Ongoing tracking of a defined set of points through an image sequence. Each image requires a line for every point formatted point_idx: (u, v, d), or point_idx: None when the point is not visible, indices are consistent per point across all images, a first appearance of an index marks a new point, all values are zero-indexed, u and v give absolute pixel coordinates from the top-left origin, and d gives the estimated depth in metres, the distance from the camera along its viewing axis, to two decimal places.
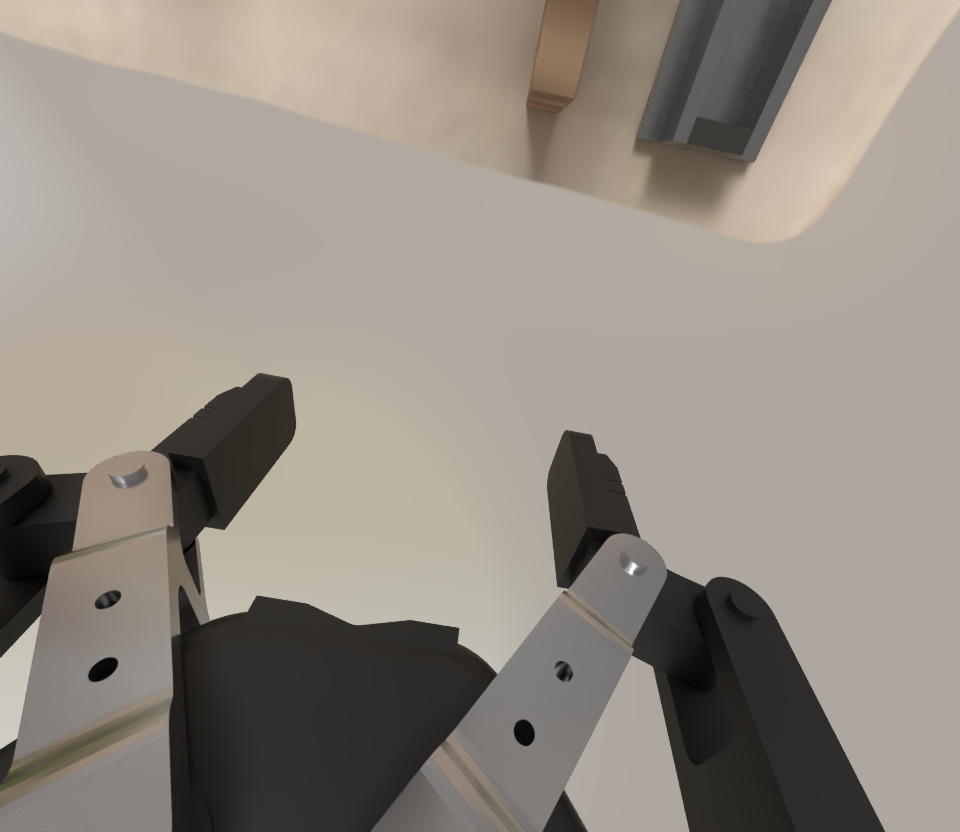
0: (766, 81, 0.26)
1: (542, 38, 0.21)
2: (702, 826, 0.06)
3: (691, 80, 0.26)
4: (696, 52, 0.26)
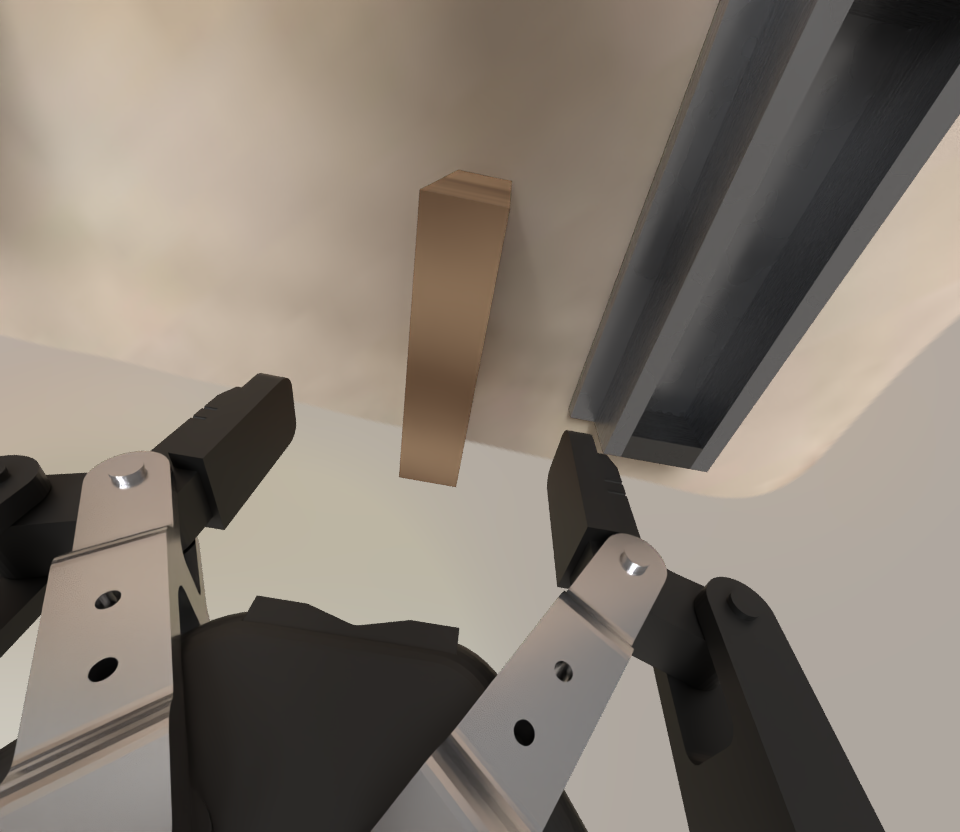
0: (718, 395, 0.21)
1: (404, 439, 0.16)
2: (702, 826, 0.06)
3: (623, 398, 0.20)
4: (629, 363, 0.20)
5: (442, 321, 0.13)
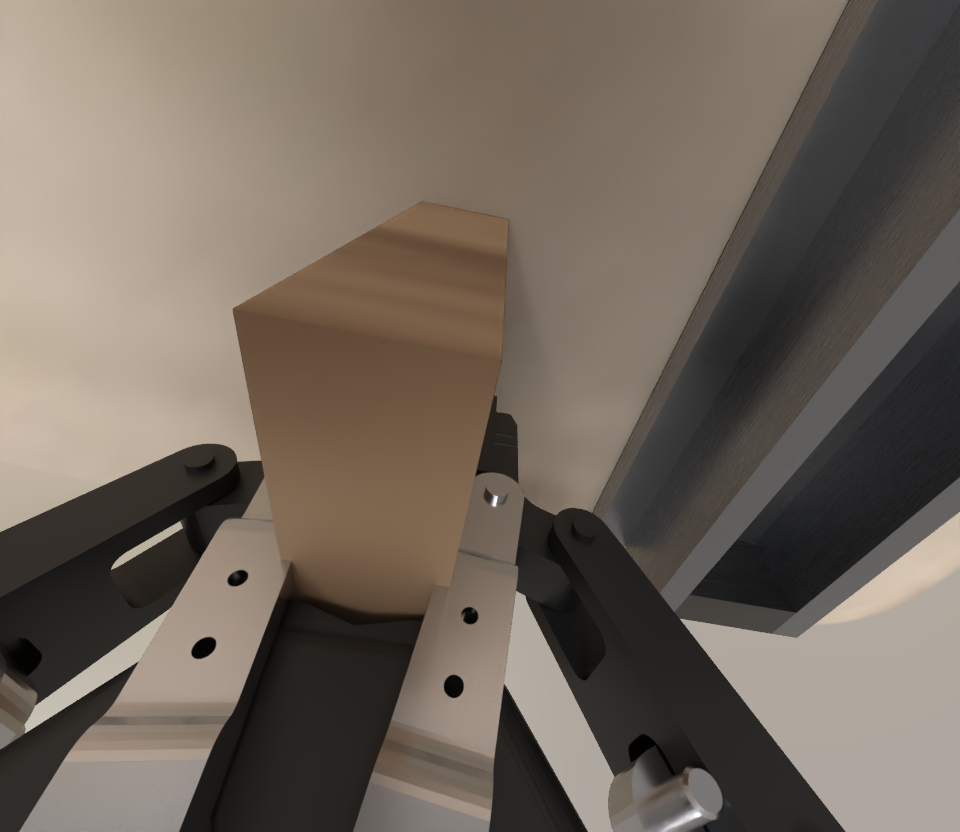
0: (822, 536, 0.14)
1: None
2: (602, 727, 0.07)
3: (678, 543, 0.13)
4: (688, 488, 0.13)
5: (351, 562, 0.06)
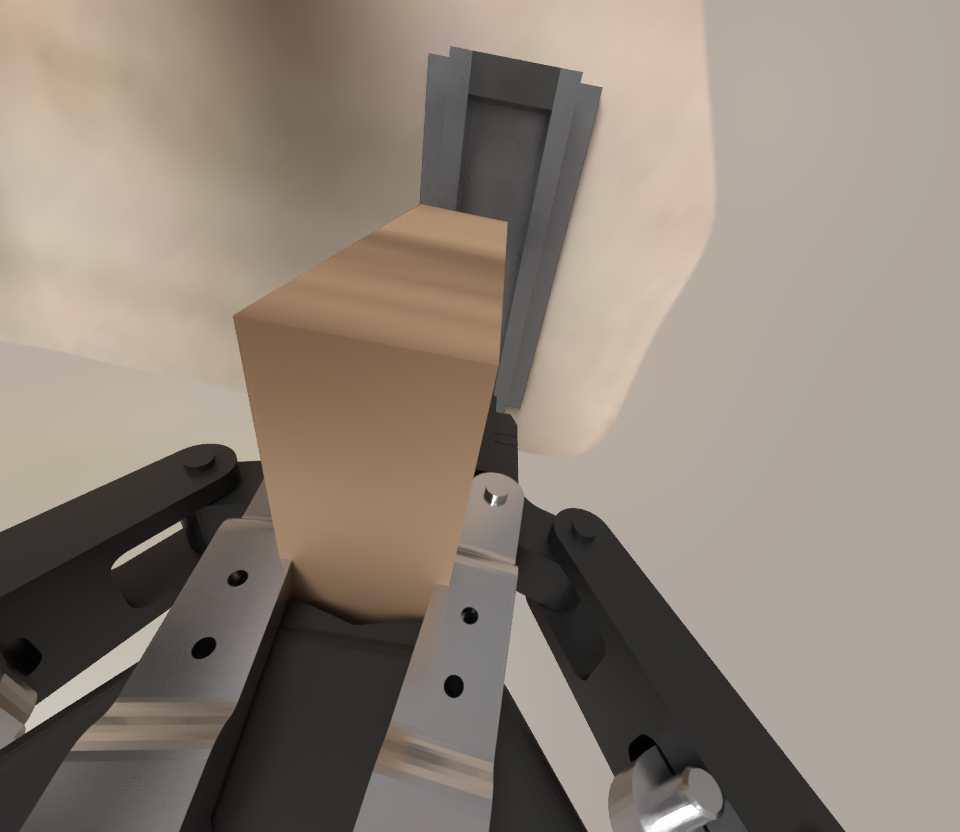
0: None
1: None
2: (601, 727, 0.07)
3: None
4: None
5: (351, 564, 0.06)
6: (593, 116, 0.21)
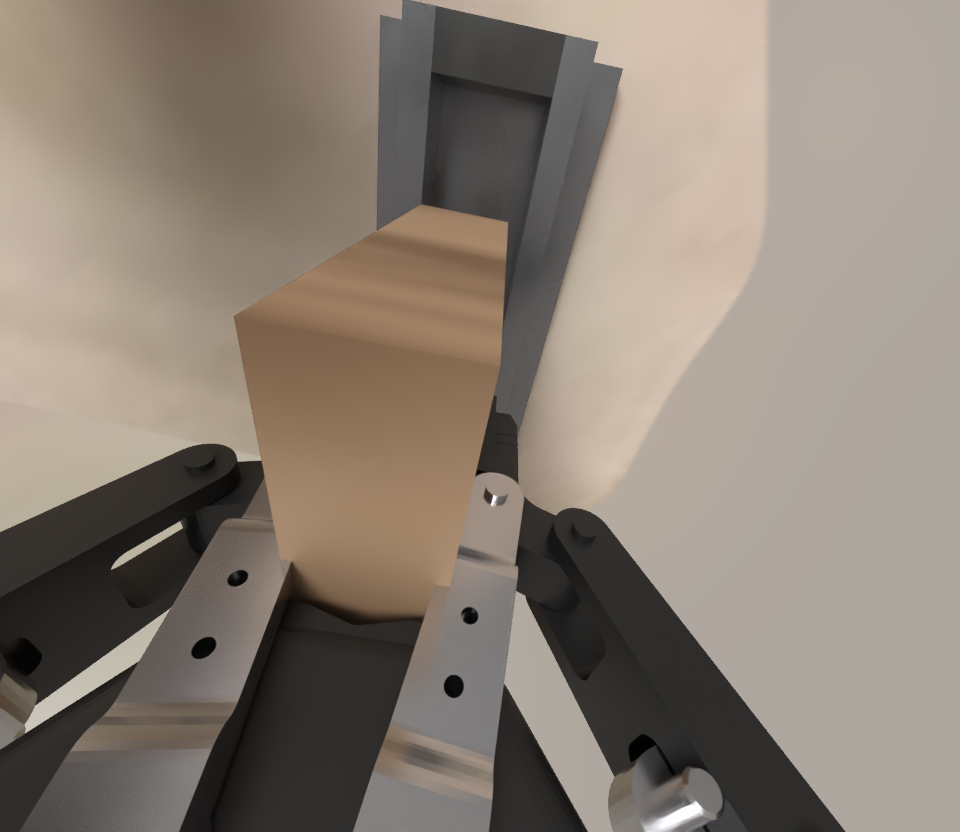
0: None
1: None
2: (602, 727, 0.07)
3: None
4: None
5: (351, 565, 0.06)
6: (609, 109, 0.15)
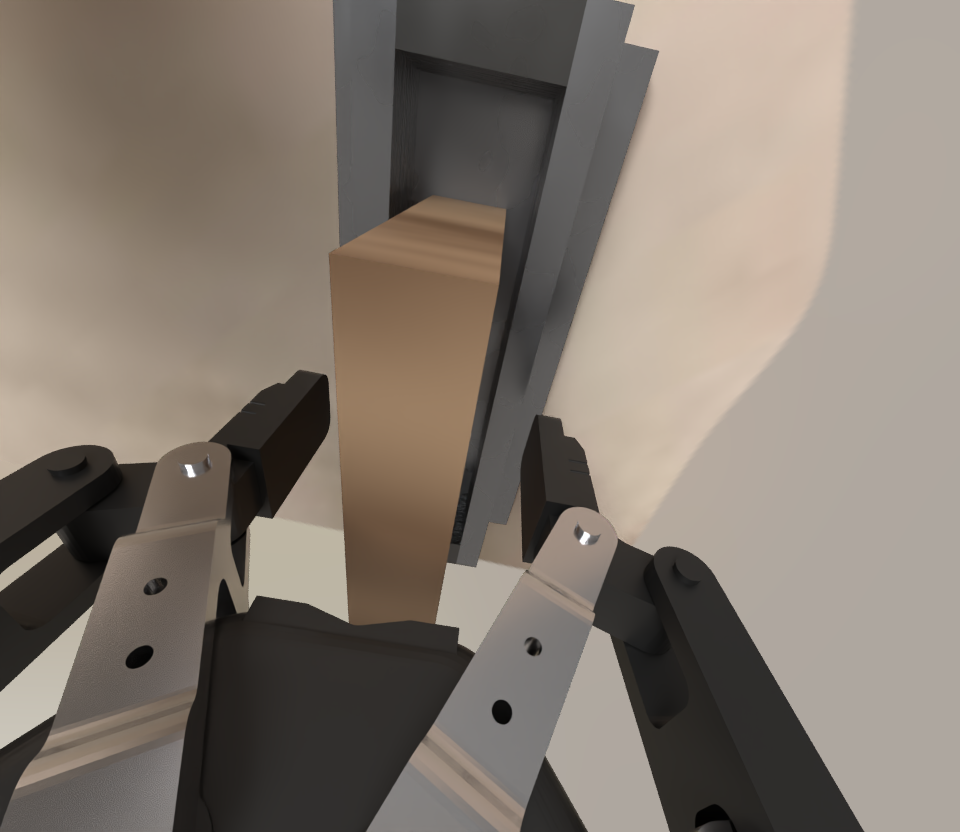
0: (471, 486, 0.18)
1: (350, 593, 0.11)
2: (668, 784, 0.06)
3: None
4: None
5: (391, 453, 0.08)
6: (638, 105, 0.11)
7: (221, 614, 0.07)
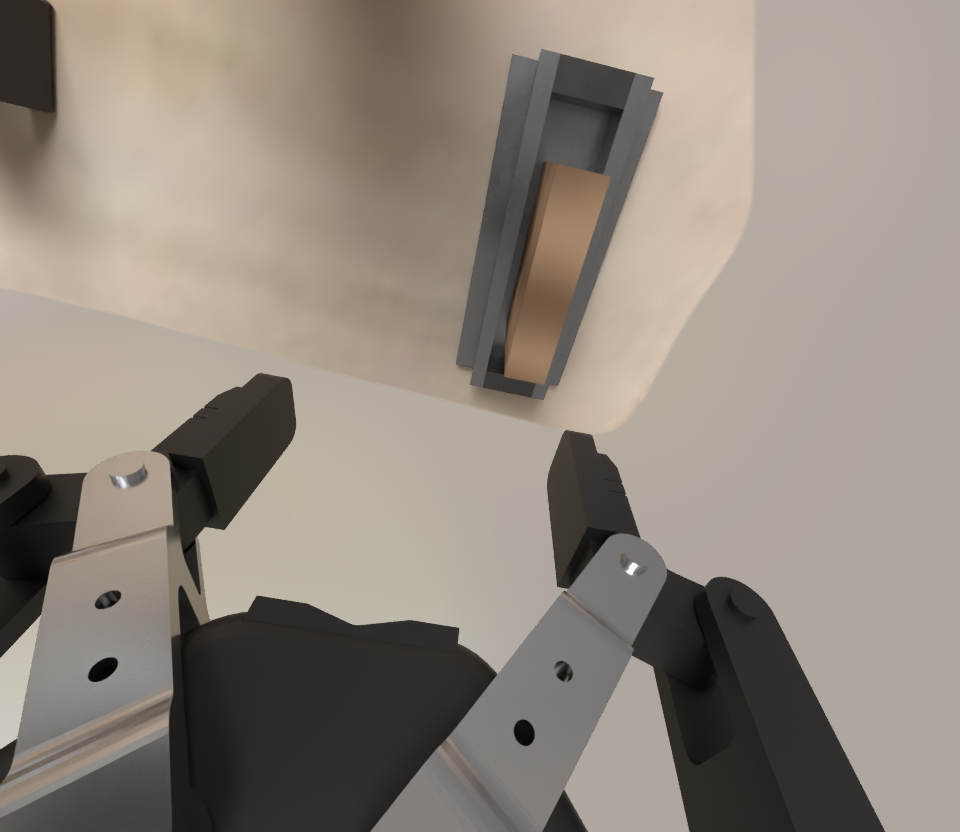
0: None
1: (513, 345, 0.22)
2: (702, 826, 0.06)
3: (478, 343, 0.30)
4: (483, 319, 0.30)
5: (556, 252, 0.20)
6: (652, 117, 0.23)
7: (181, 623, 0.06)
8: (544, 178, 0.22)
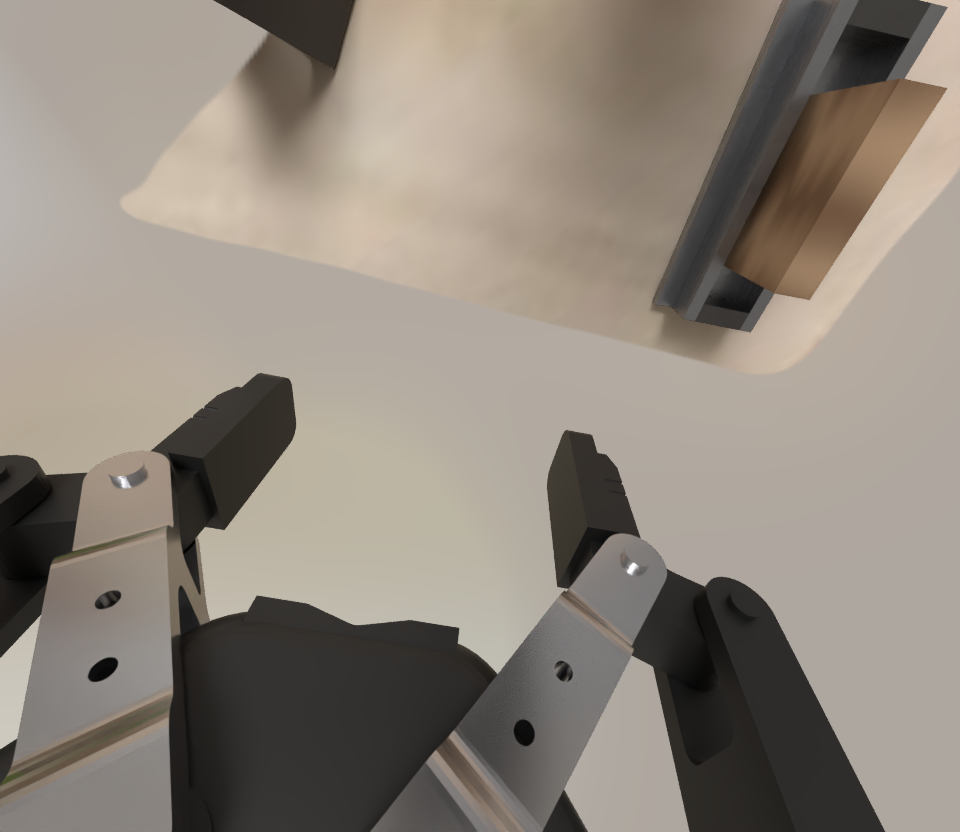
0: None
1: (794, 260, 0.25)
2: (702, 826, 0.06)
3: (699, 278, 0.32)
4: (703, 256, 0.32)
5: (869, 165, 0.22)
6: None
7: (181, 623, 0.06)
8: (822, 107, 0.25)
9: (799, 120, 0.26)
